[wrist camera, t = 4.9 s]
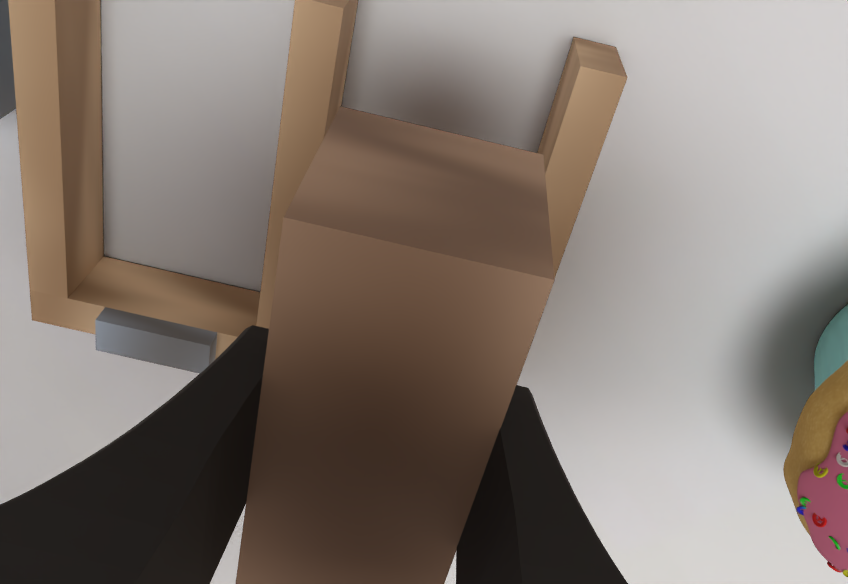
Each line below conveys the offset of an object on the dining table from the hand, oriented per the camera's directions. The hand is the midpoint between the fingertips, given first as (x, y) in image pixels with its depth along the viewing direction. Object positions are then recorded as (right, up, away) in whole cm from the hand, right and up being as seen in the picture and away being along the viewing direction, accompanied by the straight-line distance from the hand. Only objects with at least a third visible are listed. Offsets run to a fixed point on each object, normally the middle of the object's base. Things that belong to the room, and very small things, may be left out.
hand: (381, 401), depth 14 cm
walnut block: (0, +1, +2) cm, 2 cm away
